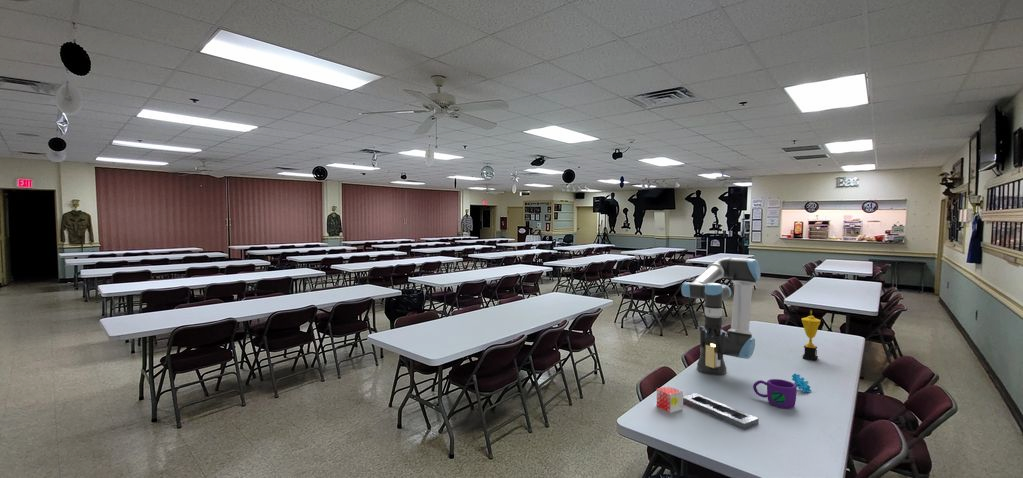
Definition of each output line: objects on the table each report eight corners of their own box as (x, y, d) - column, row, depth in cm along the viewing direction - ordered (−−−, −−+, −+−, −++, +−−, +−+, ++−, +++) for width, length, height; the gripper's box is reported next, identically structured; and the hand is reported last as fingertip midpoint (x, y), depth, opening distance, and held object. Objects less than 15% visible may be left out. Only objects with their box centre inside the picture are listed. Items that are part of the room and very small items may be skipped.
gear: (803, 392, 202) (790, 372, 209) (793, 397, 206) (780, 378, 212) (817, 391, 207) (803, 372, 214) (807, 396, 211) (793, 378, 217)
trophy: (818, 364, 248) (819, 313, 247) (798, 360, 255) (799, 311, 254) (821, 356, 263) (822, 308, 262) (802, 353, 269) (803, 306, 268)
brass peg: (705, 365, 201) (705, 344, 201) (711, 363, 204) (711, 343, 203) (714, 368, 197) (714, 347, 197) (720, 366, 200) (720, 345, 199)
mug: (798, 404, 192) (799, 383, 192) (793, 412, 184) (793, 390, 184) (756, 394, 204) (756, 373, 204) (749, 400, 196) (749, 379, 196)
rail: (681, 402, 195) (681, 397, 195) (695, 398, 199) (695, 393, 199) (744, 429, 169) (744, 423, 168) (758, 424, 173) (758, 418, 173)
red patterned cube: (670, 412, 184) (670, 395, 184) (656, 406, 191) (656, 388, 191) (683, 409, 188) (683, 391, 188) (669, 402, 195) (669, 385, 195)
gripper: (692, 313, 205) (691, 360, 206) (725, 320, 190) (725, 371, 191) (702, 311, 209) (701, 358, 210) (735, 318, 194) (735, 368, 195)
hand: (712, 364), depth 200 cm, fingers closed on brass peg, 4 cm apart
